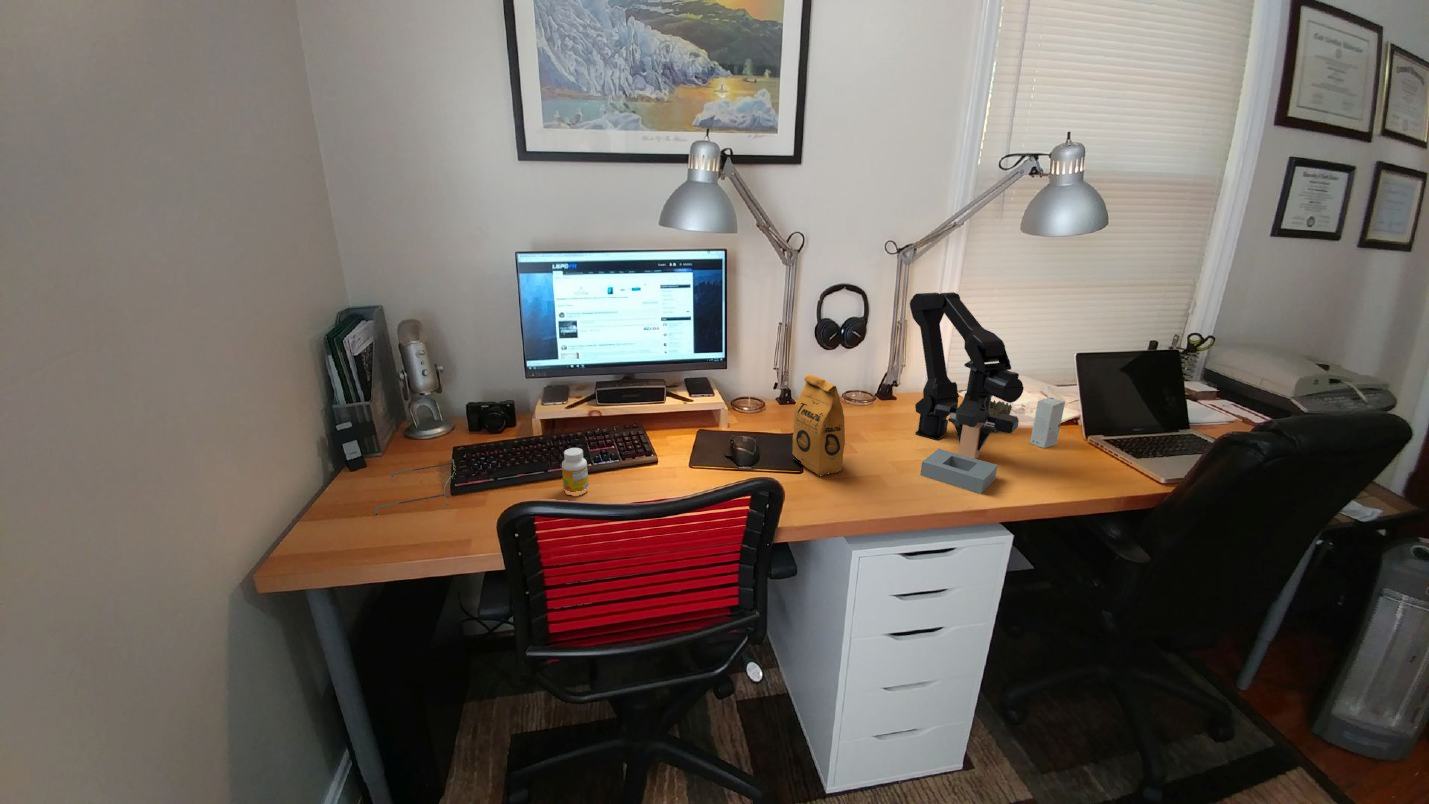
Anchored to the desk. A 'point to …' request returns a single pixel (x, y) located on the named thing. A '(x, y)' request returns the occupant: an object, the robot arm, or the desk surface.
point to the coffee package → (819, 427)
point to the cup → (999, 409)
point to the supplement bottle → (574, 470)
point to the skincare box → (1047, 422)
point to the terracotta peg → (970, 440)
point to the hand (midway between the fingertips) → (969, 447)
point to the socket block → (959, 470)
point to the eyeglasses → (421, 498)
